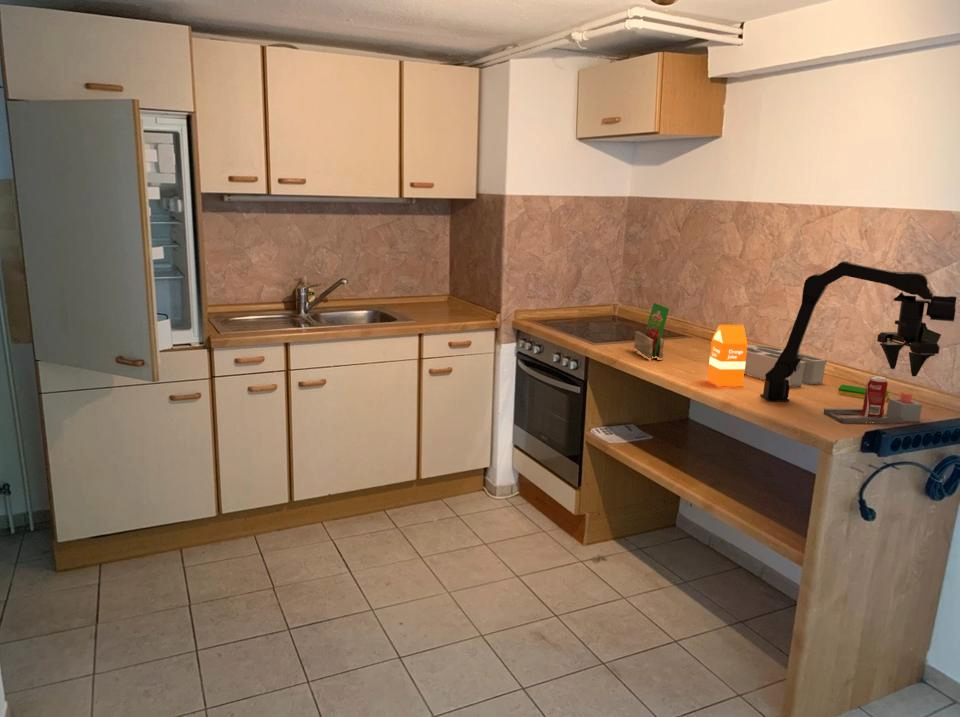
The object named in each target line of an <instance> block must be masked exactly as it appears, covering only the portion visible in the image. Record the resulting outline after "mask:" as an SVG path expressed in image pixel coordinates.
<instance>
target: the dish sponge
mask: <svg viewBox="0 0 960 717" xmlns="http://www.w3.org/2000/svg"><path fill="white" fill-rule="evenodd" d="M865 391H866V387H862V386H855V385H848V384H841V385H840V386H839V387H838V389H837V395H838V394H839V396H844V395H847V396H846V397H850V396H853V397H852V398H856V397H858V399H863V398H864V397H865ZM887 400H889V391H888V390H887V391H886V397H885V403H886V402H887Z"/></svg>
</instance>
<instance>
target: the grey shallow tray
mask: <svg viewBox="0 0 960 717" xmlns="http://www.w3.org/2000/svg"><path fill="white" fill-rule="evenodd" d="M862 410H863V408H823V414H824V415H826V416H827V415H828V416H827V417H829V416H830V418H831V417H832V418H831V419H833V418H834V419H833V420H835V419H836V420H835V421H837V420H838V421H837V422H840V423H841V422H842V423H841V424H903V423H904V421H903V418H901V417H889V416H882V417H862V416H841V417H840V415H835V414H862ZM883 414H885V408H884V409H883ZM866 422H867V423H866ZM870 422H871V423H870ZM872 422H874V423H872ZM877 422H878V423H877ZM881 422H882V423H881Z"/></svg>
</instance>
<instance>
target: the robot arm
mask: <svg viewBox="0 0 960 717" xmlns="http://www.w3.org/2000/svg"><path fill="white" fill-rule="evenodd" d="M843 277H849V278H854V279H859V280H863V281H864V280H865V281H869V282H873V283H877V284H883V285H886V286H889V287H892V288H893V289H896V290H898V291H901V292H900V293H899V294H898V295H897V296H895V297H894V298H893V301H894V302H900V309H899V314H898V315H899V316H898V320H894V324H895V325H897V330H896V331H894V332H893V331H881V332H880V333H879V334H877V339H876V341H877V342H879V346H881V348H882V350H883V354H884V355H885V357H886V361H887V363H888V365H889V369H890V370H896V366H897V363H898V362H897V361H898V358H899V355H900V351H901V350H902V348H904V347H905V346H906V347H908V348H909V349H910V351H909V352H908V357H909V358H908V359H909V366H910V372H911V373H910V374H911V376H912V377H917V376H918V374H919V372H920V371H921V369H922V367H923V365H924V364H925V362H926V360H928V359H929V358H931V357H934V356H936V354H937V355H938V354H940V347H941V346H940V345H939V344H938V343H939V340H940V339H941V336H942V334H941V333H939V332H936V331H933V330H931V329H929V328H928V326H927V324H926V322H923V319H924V311H925V305H926V304H927V306H926V311H925V312H926V314H925V316H927V317H928V318H929V320H930V321H931V320H932V321H943V322H955V317H956V310H957V309H956V303H957V296H955V295H950V296H949V295H948V296H944V295H934V294H933V291H931V289H930V288H929V287H928V278H927V276H926V275H925V274H923V273H921V272H917V271H916V272H915V271H892V270H891V271H890V270H887V269H881V268H876V267H871V266H866V265H861V264H856V263H851V262H849V261H847V260H846V261H841V262H839V263H838V264H837V265H835V266H834V267H832V268H830V269H828V270H826V271H825V272H823V273H815V274H812V275H809V276H808V277H807V278H805V280H804V284H803V289H802V296H801V304H800V306H799V307H800V308H799V309H798V311H797V312H798V313H797V316H796V318H795V320H794V324H793V326H792V329H791V331H790V334H789V337H788V339H787V343H786V345H785V347H784V348H783V349H784V350H783V352H782V353H781V355H780V356H779V358H778V360H777V361H776V363H775V365H774V367H773V368H772V369H770V370H769V371H768V372H767V373H766V374H765V376H766V378H765V380H764V384H763V385H764V386H763V392H762V393H761V394H760V395H759V396H760V397H762V398H764V400H767V401H769V402H790V399H789V394H790V393H789V392H790V389H791V388H790V385H789V380H787V379H786V378H788V377H789V376H791V375H792V374H793V373H794V372H796V371H797V370H798V369H799V368H800V362H801V360H802V358H803V357H804V356H801V355H799V353H800V350H801V349H800V348H801V347H802V342H803V340H804V338H805V336H806V333H807V330H808V328H809V324H810V322H811V319H812V317H813V314H814V311H815V308H816V306H817V304H818V303H819V301H820V299H822V296H823V295H824V293H825V291H826V290H827V288H828V287H829V285H830V284H832V283H834V282H835V281H837V280H839V279H841V278H843ZM903 292H904V293H906V294H909V295H905V294H904V293H903ZM917 296H918V297H919V298H922V299H917Z"/></svg>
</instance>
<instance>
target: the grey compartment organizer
mask: <svg viewBox="0 0 960 717" xmlns="http://www.w3.org/2000/svg"><path fill="white" fill-rule="evenodd" d="M784 349H785V348H780V347H775V346H769V345H761V344H760V345H758V344H748V345H747V354H746V363H745V370H744V373H745V374H749V375H752V376H755V377H757V378H756V379H758V378H761V379H763V380H762V381H765V378H766V376H765V374H766V373H767V372H768V371H769V370H770V369H772V368H773V367H774V365H775V363H776V361H777V360H778V358H779V356H780V355H781V353H782V352H783V350H784ZM799 355H801V356H804V357H803V358H802V360H801V362H800V368H799V369H798V370H797V371H796V372H794V373H793V374H792V375H791V376H789V377H788V378H786V379H787V380H789V385H790V388H789V389H792V388H791V387H793V388H799V387H798V386H800V387H801V386H802V385H803V384H806V383H808V384H807V385H809V384H816V385H821V384H823V382H824V376H825V369H826V366H827V359H826V358H825V359H824V358H821V357H817V356H812V355H808V354H803V353H800V352H799ZM761 379H760V380H761ZM802 382H804V383H802ZM820 383H821V384H820Z"/></svg>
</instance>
